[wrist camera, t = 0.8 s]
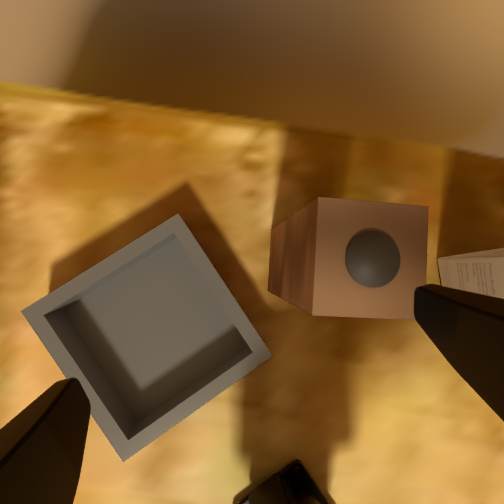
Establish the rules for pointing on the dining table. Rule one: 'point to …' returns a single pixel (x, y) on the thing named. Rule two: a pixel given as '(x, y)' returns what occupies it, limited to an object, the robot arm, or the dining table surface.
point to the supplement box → (474, 272)
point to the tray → (148, 335)
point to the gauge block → (350, 258)
